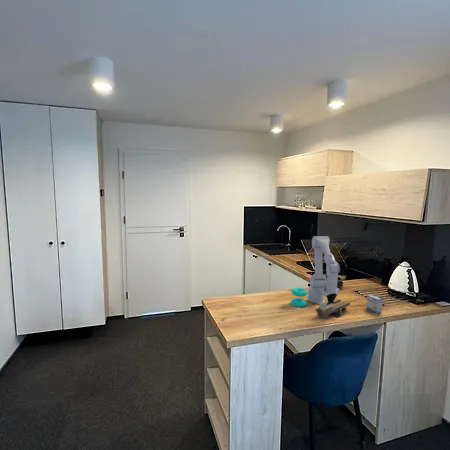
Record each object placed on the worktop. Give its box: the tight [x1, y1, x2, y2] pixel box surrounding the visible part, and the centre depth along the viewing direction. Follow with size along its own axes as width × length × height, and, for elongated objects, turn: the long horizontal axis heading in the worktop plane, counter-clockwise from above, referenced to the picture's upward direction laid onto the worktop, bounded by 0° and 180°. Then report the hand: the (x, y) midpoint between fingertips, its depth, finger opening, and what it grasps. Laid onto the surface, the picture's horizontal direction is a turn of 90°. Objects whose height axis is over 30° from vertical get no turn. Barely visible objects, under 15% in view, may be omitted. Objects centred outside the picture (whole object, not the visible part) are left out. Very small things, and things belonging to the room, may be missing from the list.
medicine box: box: [365, 294, 384, 314], centre depth 190 cm, size 8×4×9 cm, turn 24°
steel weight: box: [318, 300, 333, 312], centre depth 180 cm, size 4×7×4 cm, turn 129°
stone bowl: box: [316, 273, 347, 290], centre depth 239 cm, size 25×25×9 cm
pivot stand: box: [329, 307, 347, 318], centre depth 187 cm, size 11×16×4 cm
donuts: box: [290, 287, 308, 308], centre depth 197 cm, size 10×10×10 cm
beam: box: [315, 298, 351, 319], centre depth 185 cm, size 7×26×4 cm, turn 129°
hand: (330, 305), depth 182 cm, fingers closed
